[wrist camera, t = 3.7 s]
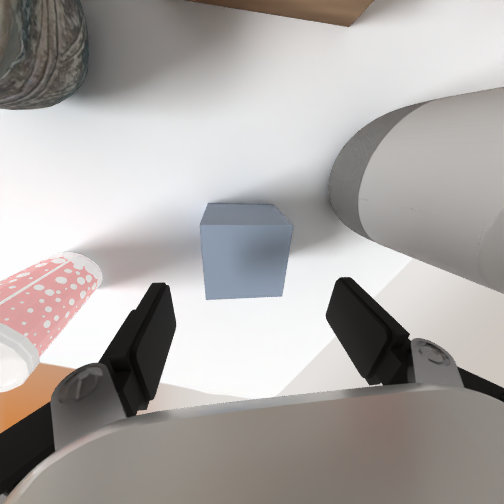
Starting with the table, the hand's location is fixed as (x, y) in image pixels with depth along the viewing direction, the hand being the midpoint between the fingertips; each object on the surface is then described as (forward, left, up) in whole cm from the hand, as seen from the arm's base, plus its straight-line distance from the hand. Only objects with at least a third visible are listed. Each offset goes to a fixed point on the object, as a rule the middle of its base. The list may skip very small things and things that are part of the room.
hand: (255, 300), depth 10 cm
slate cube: (0, 0, -9) cm, 9 cm away
